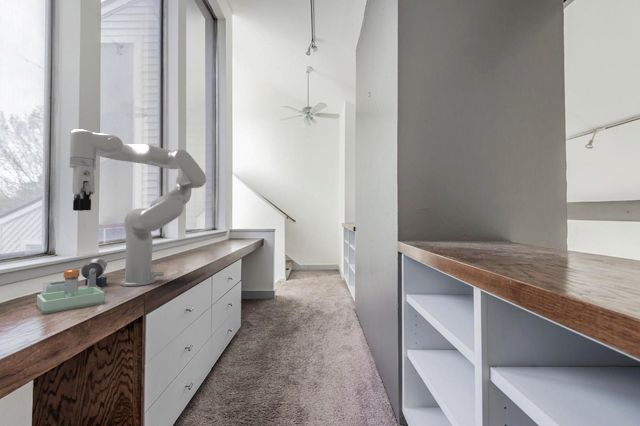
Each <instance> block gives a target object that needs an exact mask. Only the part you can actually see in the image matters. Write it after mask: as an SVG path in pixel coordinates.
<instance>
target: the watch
mask: <svg viewBox="0 0 640 426" xmlns="http://www.w3.org/2000/svg"><path fill="white" fill-rule="evenodd" d="M89 261H90V262H89V263H91V262H94V263H98V264H100V265H101V266H102V269H103V271H102V274H101V275H100V276H99V277H98V278H96V285H97V286H99V287H101V288H102V287H104V286H106V285H107V284H108V283H107V282H108V281H107V280H108V278H107V277H108V276H103V275H104V272H105V271H106V268H107V266H108V262H107V261H106V260H105V259H103V258H92V259H91V260H89ZM84 281H85V283H84V284H85V285H84V286H87V285H88V279H86V278H85V280H84Z"/></svg>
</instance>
